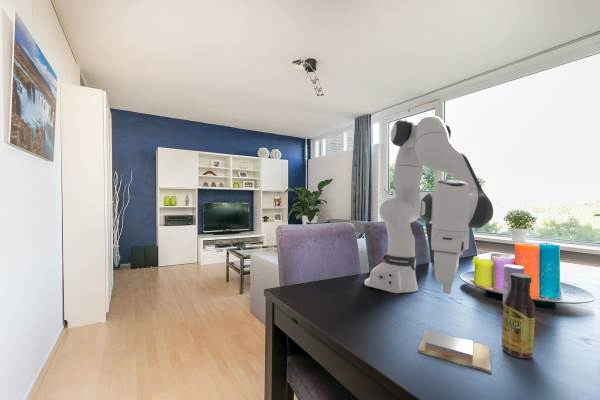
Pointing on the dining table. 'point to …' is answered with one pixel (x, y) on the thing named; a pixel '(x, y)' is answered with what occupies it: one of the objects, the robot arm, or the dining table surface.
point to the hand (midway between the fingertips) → (447, 292)
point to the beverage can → (506, 277)
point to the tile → (450, 345)
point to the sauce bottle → (518, 318)
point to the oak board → (479, 359)
